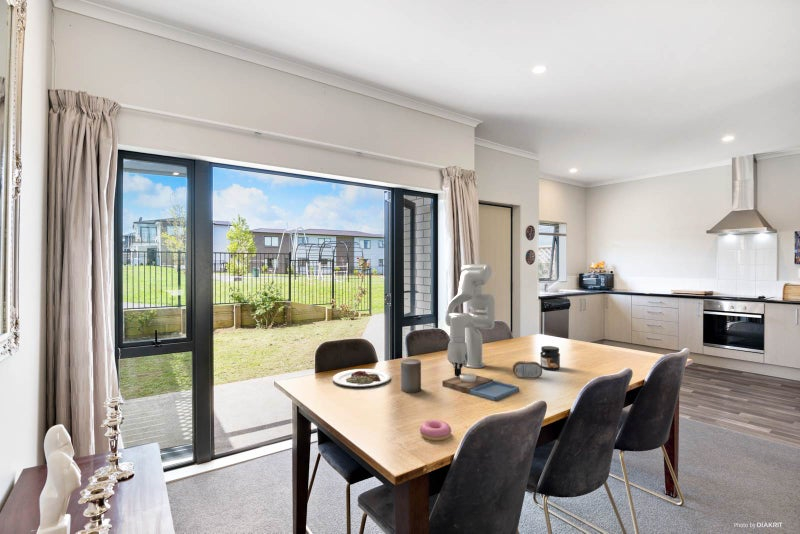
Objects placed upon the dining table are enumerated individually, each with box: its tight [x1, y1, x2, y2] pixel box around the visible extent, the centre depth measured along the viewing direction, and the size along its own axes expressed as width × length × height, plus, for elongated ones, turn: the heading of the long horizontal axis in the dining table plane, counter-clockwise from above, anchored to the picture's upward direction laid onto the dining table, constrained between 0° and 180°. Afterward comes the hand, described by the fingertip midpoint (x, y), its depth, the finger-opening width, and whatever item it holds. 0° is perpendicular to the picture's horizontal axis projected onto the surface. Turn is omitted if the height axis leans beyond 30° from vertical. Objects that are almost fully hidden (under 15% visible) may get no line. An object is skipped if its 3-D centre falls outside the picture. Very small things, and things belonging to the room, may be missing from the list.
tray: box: [469, 380, 520, 402], centre depth 181 cm, size 14×20×2 cm
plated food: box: [332, 368, 391, 388], centre depth 202 cm, size 30×30×3 cm
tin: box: [512, 360, 543, 379], centre depth 205 cm, size 15×3×8 cm, turn 84°
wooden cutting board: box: [441, 374, 494, 395], centre depth 192 cm, size 16×20×2 cm
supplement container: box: [539, 345, 561, 372], centre depth 223 cm, size 10×10×12 cm
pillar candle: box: [400, 358, 422, 394], centre depth 186 cm, size 10×10×15 cm
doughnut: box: [419, 419, 452, 442], centre depth 136 cm, size 11×11×4 cm
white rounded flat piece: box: [460, 372, 476, 383], centre depth 192 cm, size 8×8×2 cm
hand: (457, 375), depth 197 cm, fingers closed
